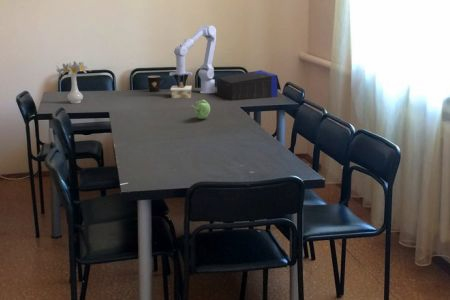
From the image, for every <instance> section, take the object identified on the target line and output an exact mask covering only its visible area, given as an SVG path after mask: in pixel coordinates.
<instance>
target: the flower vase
mask: <svg viewBox="0 0 450 300" xmlns="http://www.w3.org/2000/svg"><path fill="white" fill-rule="evenodd" d="M72 63H73V64H72ZM55 67H56V72H57V73H58V77H59V78H60V77H61V76H63V75H65V74H66V73H68V74H67V75H69V76H70V77H71V80H70V81H71V90H70V92H69V93H68V94H67V97H66V98H67V100H68V101H70V103H71V104H79V103H82V102H81V101H82V100H83V98H84V95H83V93H82V92H81V91H79V88H78V81H77V77H78V73H79V72H83V73H85V74H87V71H86V70H87V69H88V66H87V65H84V62H83V61H81V62H78V63H77V62H76V61H72V62H71V61H69V63H62V68H60V67H59V66H58V65H55Z"/></svg>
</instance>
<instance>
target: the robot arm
mask: <svg viewBox="0 0 450 300" xmlns="http://www.w3.org/2000/svg"><path fill="white" fill-rule="evenodd" d="M216 34H217V29H216V27H215V26H214V25H207V24H202V25H200V27H198V30H196V31H195V33H194V34H193V35H191V37H190V38H185V39H184V41H183V42H182V43H180V44H179V45H178V46H176V47H175V48H174V50H173V53H174V55H175V64H176V65H175V68H176V71H171V72H169V76H170V77H171V76H173V78H174V79H175V82H176V86H177V87H179V76H183V82H184V87H185V86H186V83H187V80H188V77H189V76H193V72H192V71H186V55H187V53H188V51H189V50H190V49H191V48H192V47H194V43H195V42H197V41H198V40H199V39H201V37H204V38H205V39H206V40H207V43H206V48H205V54H204V59H203V64H202V65H201V66H200V69H199V70H198V76H199V78H200V94H215V93H216V87H215V83H216V82H215V79H213V78H214V77H215V71H214V70H215V68H214V66H213V61H214V55H215V54H214V53H215V48H216V44H217V35H216Z"/></svg>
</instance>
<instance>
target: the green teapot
mask: <svg viewBox="0 0 450 300" xmlns="http://www.w3.org/2000/svg"><path fill="white" fill-rule="evenodd" d="M190 106H191V108H194V109H195V110H194V112H195V115H196V117H197V118H198V119H199V120H204V119H205V118H207V117H208V116H209V114H210V112H211V105H210V104H209V102H208V101H206V100H205V99H200V100H198V101H196V106H195V105H192V104H191V105H190Z"/></svg>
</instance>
